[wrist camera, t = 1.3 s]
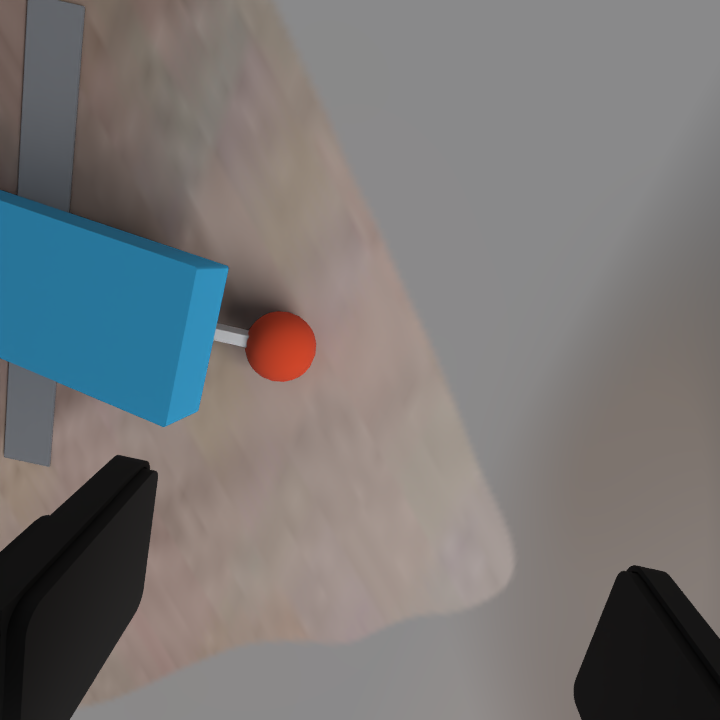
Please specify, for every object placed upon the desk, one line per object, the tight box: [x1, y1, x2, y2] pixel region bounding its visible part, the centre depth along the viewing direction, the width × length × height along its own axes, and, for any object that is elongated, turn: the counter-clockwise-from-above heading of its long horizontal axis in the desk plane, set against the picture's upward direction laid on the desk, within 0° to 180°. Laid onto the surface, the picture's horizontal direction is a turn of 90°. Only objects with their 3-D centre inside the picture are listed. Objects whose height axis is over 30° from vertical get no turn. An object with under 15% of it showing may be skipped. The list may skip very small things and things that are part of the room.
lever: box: [0, 190, 316, 427], centre depth 26 cm, size 7×7×18 cm
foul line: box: [4, 0, 85, 467], centre depth 27 cm, size 23×2×1 cm, turn 168°
